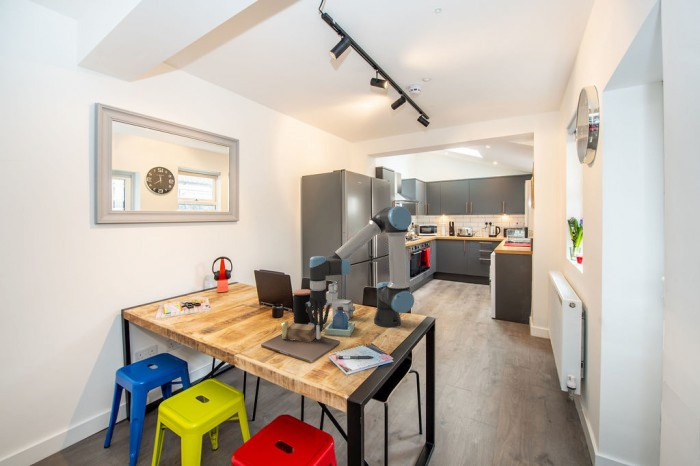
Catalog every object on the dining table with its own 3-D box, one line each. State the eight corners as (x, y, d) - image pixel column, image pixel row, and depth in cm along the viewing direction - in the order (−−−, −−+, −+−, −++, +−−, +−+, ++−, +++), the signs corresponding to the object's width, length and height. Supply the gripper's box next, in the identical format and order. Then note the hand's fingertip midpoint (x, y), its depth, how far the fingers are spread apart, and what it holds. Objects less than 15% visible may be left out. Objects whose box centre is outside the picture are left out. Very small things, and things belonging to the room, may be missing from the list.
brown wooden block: (316, 337, 146) (315, 325, 146) (310, 342, 140) (310, 330, 140) (293, 335, 149) (293, 323, 149) (287, 340, 143) (287, 328, 142)
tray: (354, 327, 158) (354, 322, 158) (349, 336, 146) (349, 330, 146) (331, 326, 161) (331, 320, 161) (324, 335, 148) (324, 329, 148)
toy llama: (351, 321, 169) (351, 286, 168) (325, 317, 176) (324, 284, 176) (356, 317, 176) (356, 284, 175) (331, 314, 183) (330, 282, 182)
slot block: (323, 328, 158) (323, 323, 158) (316, 336, 147) (316, 331, 147) (309, 327, 160) (309, 322, 160) (301, 335, 148) (301, 330, 148)
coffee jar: (308, 326, 161) (308, 293, 160) (290, 325, 163) (290, 293, 163) (315, 320, 171) (314, 289, 171) (297, 319, 174) (297, 288, 173)
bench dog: (289, 337, 145) (289, 321, 145) (287, 340, 142) (286, 324, 142) (283, 337, 146) (283, 321, 145) (280, 339, 143) (280, 323, 142)
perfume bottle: (347, 328, 155) (347, 306, 155) (344, 332, 150) (344, 309, 149) (336, 327, 157) (336, 305, 157) (332, 331, 151) (332, 308, 151)
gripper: (333, 287, 142) (334, 336, 143) (307, 286, 145) (308, 334, 145) (329, 291, 134) (329, 342, 135) (302, 290, 137) (303, 340, 138)
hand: (318, 338), depth 140 cm, fingers closed
